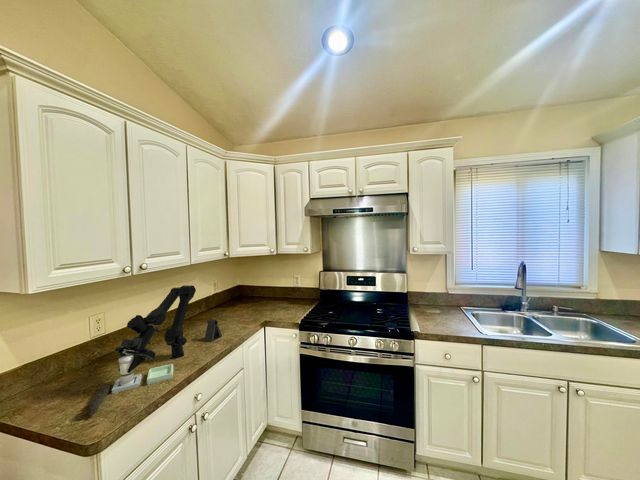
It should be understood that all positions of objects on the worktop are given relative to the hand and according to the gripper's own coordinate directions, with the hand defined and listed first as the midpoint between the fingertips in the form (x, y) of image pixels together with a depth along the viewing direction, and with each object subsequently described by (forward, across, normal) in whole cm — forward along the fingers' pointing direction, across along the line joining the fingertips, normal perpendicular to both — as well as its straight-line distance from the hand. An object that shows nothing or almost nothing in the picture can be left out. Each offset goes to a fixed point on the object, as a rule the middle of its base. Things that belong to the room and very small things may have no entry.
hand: (123, 372), depth 121 cm
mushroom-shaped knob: (+4, 0, +6) cm, 7 cm away
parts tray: (-3, +9, +12) cm, 15 cm away
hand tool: (+13, +2, -3) cm, 14 cm away
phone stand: (-34, +5, +44) cm, 56 cm away
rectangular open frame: (+4, 0, +6) cm, 7 cm away
